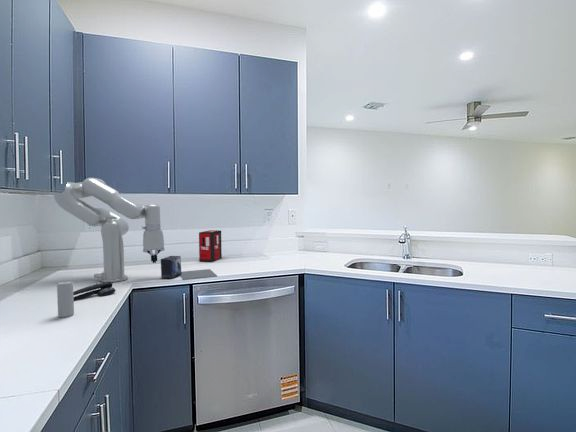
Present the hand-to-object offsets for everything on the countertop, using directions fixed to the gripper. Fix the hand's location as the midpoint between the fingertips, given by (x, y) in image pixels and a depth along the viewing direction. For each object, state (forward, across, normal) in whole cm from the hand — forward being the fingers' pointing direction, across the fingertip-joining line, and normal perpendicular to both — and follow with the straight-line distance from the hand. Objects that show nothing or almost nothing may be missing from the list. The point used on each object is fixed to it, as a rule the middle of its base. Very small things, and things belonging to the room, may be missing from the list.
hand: (154, 262), depth 179 cm
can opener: (+9, -27, -25) cm, 37 cm away
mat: (+9, +22, 0) cm, 24 cm away
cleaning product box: (+9, +39, +43) cm, 59 cm away
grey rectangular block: (+9, -32, -49) cm, 59 cm away
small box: (+9, +9, 0) cm, 12 cm away
